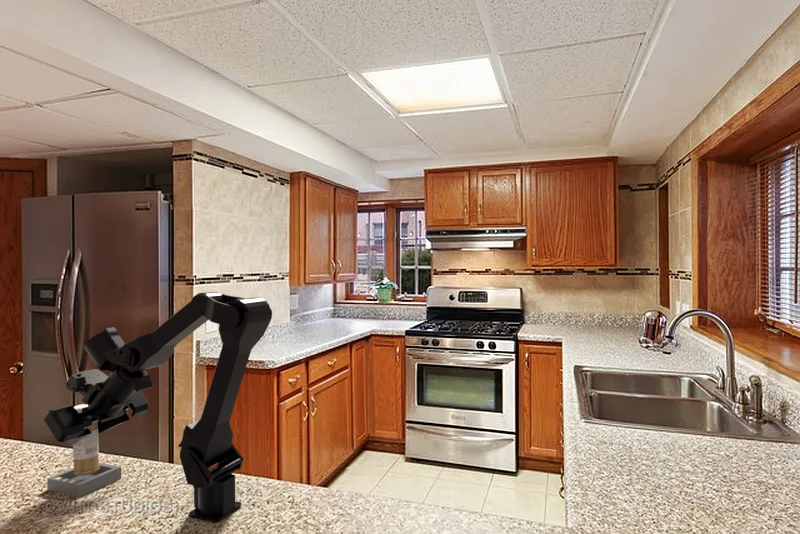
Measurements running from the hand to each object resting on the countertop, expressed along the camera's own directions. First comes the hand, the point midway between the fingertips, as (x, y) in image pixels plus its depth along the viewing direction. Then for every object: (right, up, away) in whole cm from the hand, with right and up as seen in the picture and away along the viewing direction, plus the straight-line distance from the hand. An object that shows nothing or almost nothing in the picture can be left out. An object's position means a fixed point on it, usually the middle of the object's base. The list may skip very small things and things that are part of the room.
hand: (80, 438), depth 99 cm
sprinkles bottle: (+1, -7, -1) cm, 7 cm away
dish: (+1, -9, 0) cm, 9 cm away
